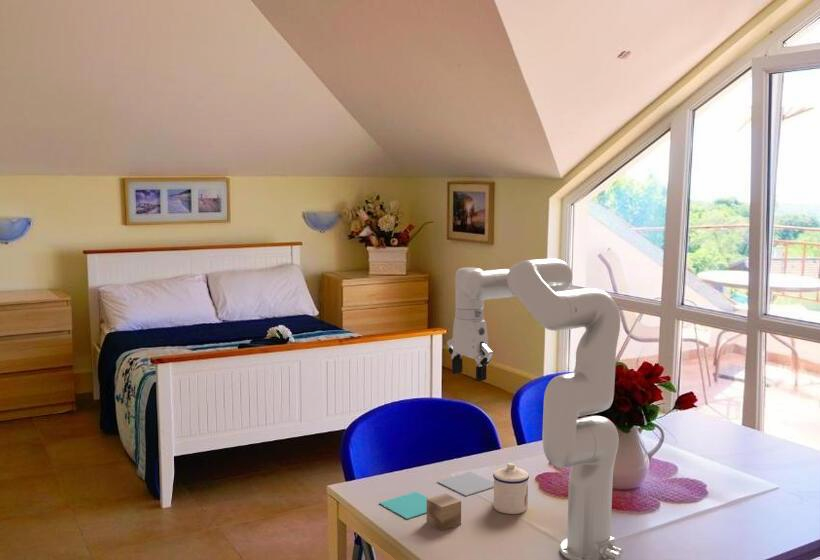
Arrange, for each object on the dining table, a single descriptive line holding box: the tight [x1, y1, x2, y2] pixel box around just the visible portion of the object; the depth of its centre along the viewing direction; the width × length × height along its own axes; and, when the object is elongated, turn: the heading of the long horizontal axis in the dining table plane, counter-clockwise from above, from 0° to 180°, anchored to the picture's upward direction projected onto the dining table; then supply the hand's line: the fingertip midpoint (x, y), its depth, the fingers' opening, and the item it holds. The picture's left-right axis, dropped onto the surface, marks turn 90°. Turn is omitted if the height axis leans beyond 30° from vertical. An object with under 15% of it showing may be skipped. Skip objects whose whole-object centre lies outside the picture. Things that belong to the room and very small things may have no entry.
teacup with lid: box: [492, 462, 530, 515], centre depth 214 cm, size 12×9×12 cm
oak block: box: [426, 493, 462, 532], centre depth 204 cm, size 6×6×6 cm
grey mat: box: [437, 471, 494, 497], centre depth 229 cm, size 12×12×1 cm
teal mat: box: [378, 491, 430, 520], centre depth 215 cm, size 12×12×1 cm
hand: (469, 376), depth 225 cm, fingers open, 9 cm apart
